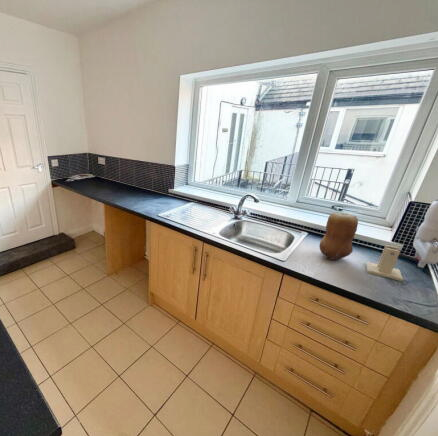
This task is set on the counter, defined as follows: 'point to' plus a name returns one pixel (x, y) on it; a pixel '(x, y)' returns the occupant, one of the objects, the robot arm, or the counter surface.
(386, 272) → the stand
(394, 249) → the lever
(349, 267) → the counter surface
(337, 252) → the butternut squash
